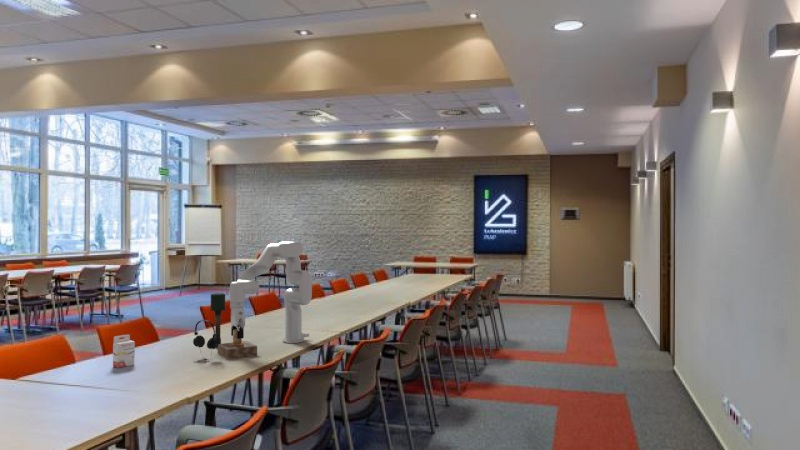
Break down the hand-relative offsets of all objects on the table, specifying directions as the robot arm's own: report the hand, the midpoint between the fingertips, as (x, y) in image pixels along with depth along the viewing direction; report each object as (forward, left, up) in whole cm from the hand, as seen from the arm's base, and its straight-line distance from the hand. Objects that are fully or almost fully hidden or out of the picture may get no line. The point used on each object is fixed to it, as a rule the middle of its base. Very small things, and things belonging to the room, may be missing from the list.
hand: (237, 336), depth 304 cm
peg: (0, 0, -9) cm, 9 cm away
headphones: (+19, +2, -10) cm, 21 cm away
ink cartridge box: (+54, -7, -10) cm, 55 cm away
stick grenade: (+3, -24, -10) cm, 26 cm away
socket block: (0, 0, -9) cm, 9 cm away
